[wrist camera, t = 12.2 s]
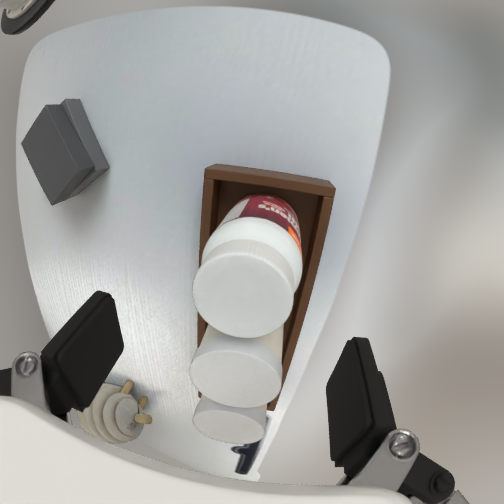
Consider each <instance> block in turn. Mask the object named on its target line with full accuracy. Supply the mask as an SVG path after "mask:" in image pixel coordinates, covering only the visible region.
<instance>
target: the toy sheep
mask: <svg viewBox="0 0 504 504" xmlns="http://www.w3.org/2000/svg"><path fill="white" fill-rule="evenodd" d="M132 387H133V382H132V381H131V380H127V382H126V383H125V385H124V387H123V388H122V387H120V386H115V385H112V384H107V383H103V384H102V386H101V388H100V389H99V391H98V393H97V394H96V396H95V398H94V400H93V401H92V403H91V405H90V406H89V407H88V408H85V409H84V411H83V413H82V412H80V411H78V410H76V411H77V416H78V419H79V421H80V423H81V425H82V426H83V428H84V429H85V430H86V431H87V432H89V433H90V434H91V435H93V436H95V437H97V438H99V439H101V440H104V441H106V442H108V443H118V444H119V443H126V442H128V441H132V440H134V439H136V438H137V437H138V436H139V435H140V433H141V431H142V429H143V426H144V424H150V423H151V422H152V417H151V416H150V415H146V414H144V413H143V409H144V406H145V404H146V402H147V397H145V396H141V398H140V400H139V402H137V401H136V400H135V399H134V397H133V396H132V395H131V394H130V393H129V392H130V390H131V389H132Z"/></svg>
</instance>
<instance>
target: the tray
mask: <svg viewBox="0 0 504 504" xmlns="http://www.w3.org/2000/svg"><path fill="white" fill-rule="evenodd" d="M204 178H205V179H204V185H203V198H202V213H201V230H200V250H199V268H200V266H201V261H202V254H203V251H204V248H205V246H206V244H207V242H208V240H209V238H210V237H211V235H212V234H213V232H214V231H215V230H216V229H217V228H218V226H219V225H220V224H221V222H222V221H223V220H224V218H225V217H226V216H227V214H228V213H229V212H230V210H231V209H232V208H233V206H234V205H235V204H236V203H237V202H238V201H240V200H241V199H243V198H244V197H246V196H249V195H251V194H256V193H268V194H273V195H276V196H278V197H280V198H282V199H283V200H285V201H286V202H287V203H288V204H289V205H290V206H291V207H292V208H293V210H294V212H295V213H296V216H297V218H298V222H299V229H300V238H301V250H302V276H301V280H300V283H299V286H298V288H297V289H296V291H295V293H294V300H293V307H292V310H291V313H290V315H289V317H288V319H287V320H286V321H285V322H284V327H283V346H282V362H281V364H282V385H281V390H282V387H283V384H284V381H285V378H286V375H287V372H288V369H289V366H290V363H291V360H292V357H293V354H294V351H295V348H296V344H297V341H298V338H299V335H300V331H301V328H302V325H303V321H304V318H305V314H306V311H307V307H308V304H309V300H310V296H311V293H312V289H313V285H314V281H315V278H316V274H317V270H318V266H319V262H320V258H321V254H322V250H323V245H324V241H325V237H326V233H327V228H328V224H329V219H330V215H331V210H332V205H333V200H334V195H335V190H336V188H335V187H334V186H333V185H332V183H331V182H330V181H327V180H322V179H317V178H311V177H306V176H300V175H294V174H288V173H282V172H276V171H269V170H262V169H255V168H248V167H240V166H231V165H223V164H214V165H212V166H210V167H207V168H205V173H204ZM207 327H208V323H207V322H206V321H205V320H204V319H203V318H202V316H201V315H200V314H199V312H198V347H199V346H200V344H201V342H202V339H203V337H204V334H205V332H206V329H207ZM281 390H280V392H279V394H278V395H277V396H276V398H274V399H273V400H272V401H270V402H269V403H267V409H266V410H270V411H274V410H275V407H276V404H277V401H278V399H279V396H280V393H281ZM198 396H199V398H201V396H202V393H201V392H199V391H198Z"/></svg>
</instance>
